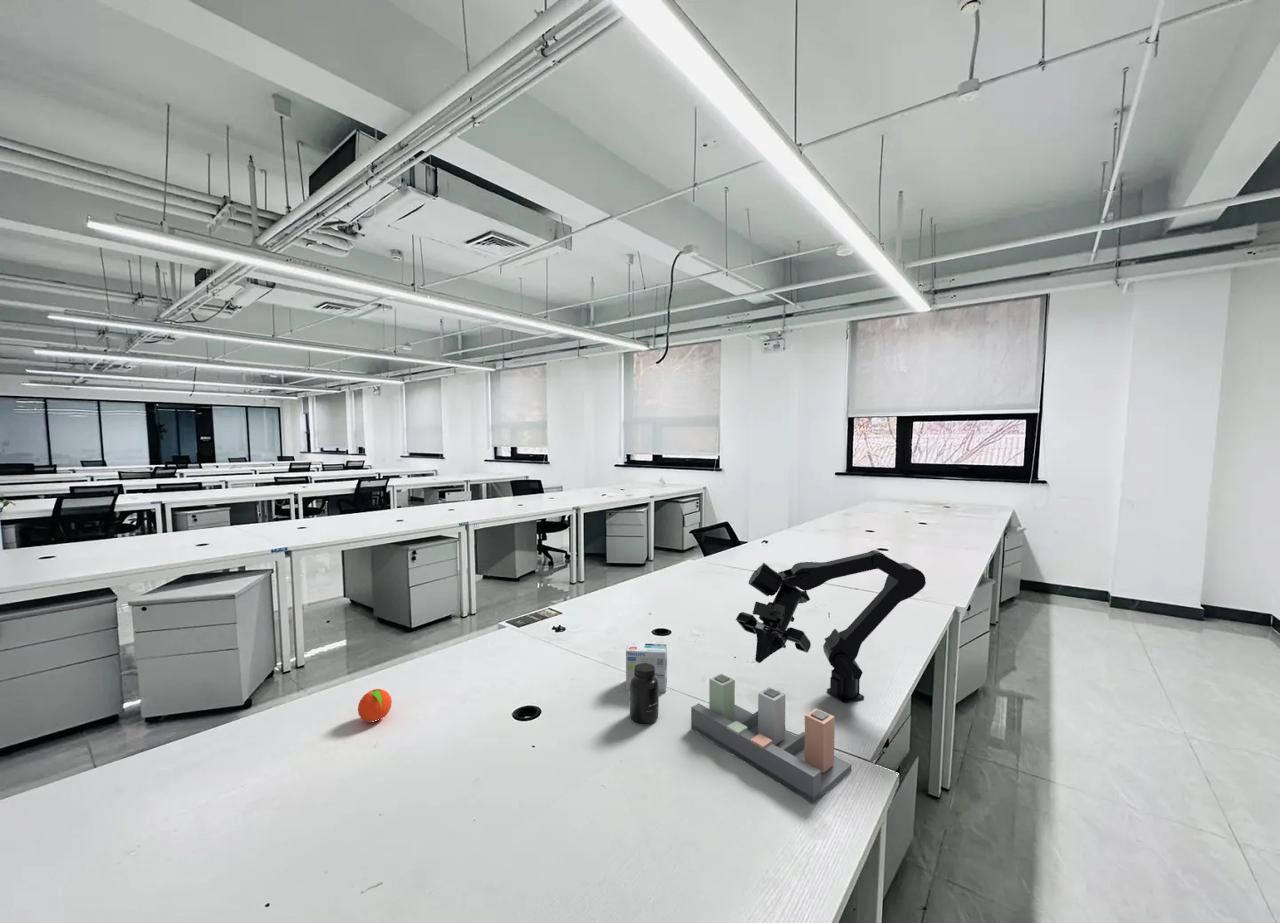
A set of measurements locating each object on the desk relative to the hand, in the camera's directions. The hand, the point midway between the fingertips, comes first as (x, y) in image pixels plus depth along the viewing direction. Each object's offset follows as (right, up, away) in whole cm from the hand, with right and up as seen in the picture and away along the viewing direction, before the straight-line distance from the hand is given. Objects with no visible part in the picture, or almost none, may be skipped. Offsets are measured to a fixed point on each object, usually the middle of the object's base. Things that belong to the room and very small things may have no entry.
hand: (757, 661), depth 117 cm
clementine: (-90, -12, -5) cm, 91 cm away
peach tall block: (+7, -11, -22) cm, 26 cm away
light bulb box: (-27, -11, +12) cm, 31 cm away
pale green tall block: (-10, -10, -8) cm, 16 cm away
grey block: (0, -10, -14) cm, 17 cm away
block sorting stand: (-2, -12, -15) cm, 19 cm away
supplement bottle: (-27, -12, -4) cm, 30 cm away
